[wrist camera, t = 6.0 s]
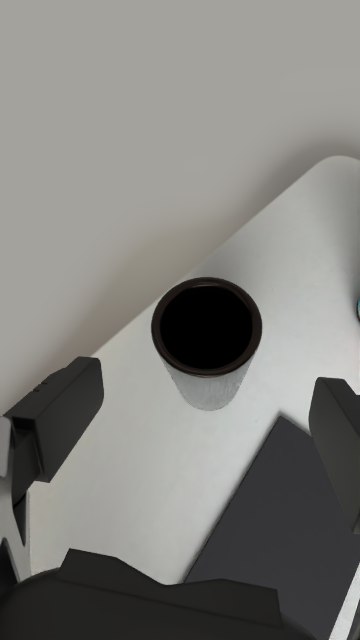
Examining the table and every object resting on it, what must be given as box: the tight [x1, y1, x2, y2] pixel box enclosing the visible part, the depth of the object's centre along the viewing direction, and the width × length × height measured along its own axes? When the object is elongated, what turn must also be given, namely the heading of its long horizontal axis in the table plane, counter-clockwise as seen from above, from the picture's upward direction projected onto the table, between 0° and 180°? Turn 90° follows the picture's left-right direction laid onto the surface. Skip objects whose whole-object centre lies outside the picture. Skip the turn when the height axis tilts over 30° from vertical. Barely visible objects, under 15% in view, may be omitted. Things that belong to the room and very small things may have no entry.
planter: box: [151, 277, 262, 410], centre depth 15 cm, size 4×4×10 cm
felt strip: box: [184, 416, 360, 640], centre depth 14 cm, size 18×7×1 cm, turn 143°
